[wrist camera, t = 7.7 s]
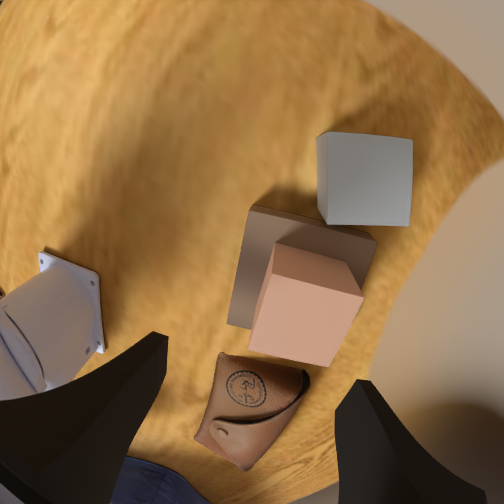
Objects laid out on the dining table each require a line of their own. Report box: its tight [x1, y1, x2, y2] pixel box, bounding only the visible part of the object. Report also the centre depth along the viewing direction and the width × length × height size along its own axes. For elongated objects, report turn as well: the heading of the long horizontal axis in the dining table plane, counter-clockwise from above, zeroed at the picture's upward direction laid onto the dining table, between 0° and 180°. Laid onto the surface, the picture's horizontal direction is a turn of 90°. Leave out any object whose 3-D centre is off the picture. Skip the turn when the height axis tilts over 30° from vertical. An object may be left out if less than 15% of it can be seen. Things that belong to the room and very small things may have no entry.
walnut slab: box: [227, 205, 378, 330], centre depth 18 cm, size 8×8×2 cm
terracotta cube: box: [248, 242, 364, 367], centre depth 15 cm, size 4×4×4 cm
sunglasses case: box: [194, 352, 310, 472], centre depth 24 cm, size 18×7×7 cm, turn 165°
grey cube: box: [316, 132, 413, 226], centre depth 14 cm, size 4×4×4 cm
